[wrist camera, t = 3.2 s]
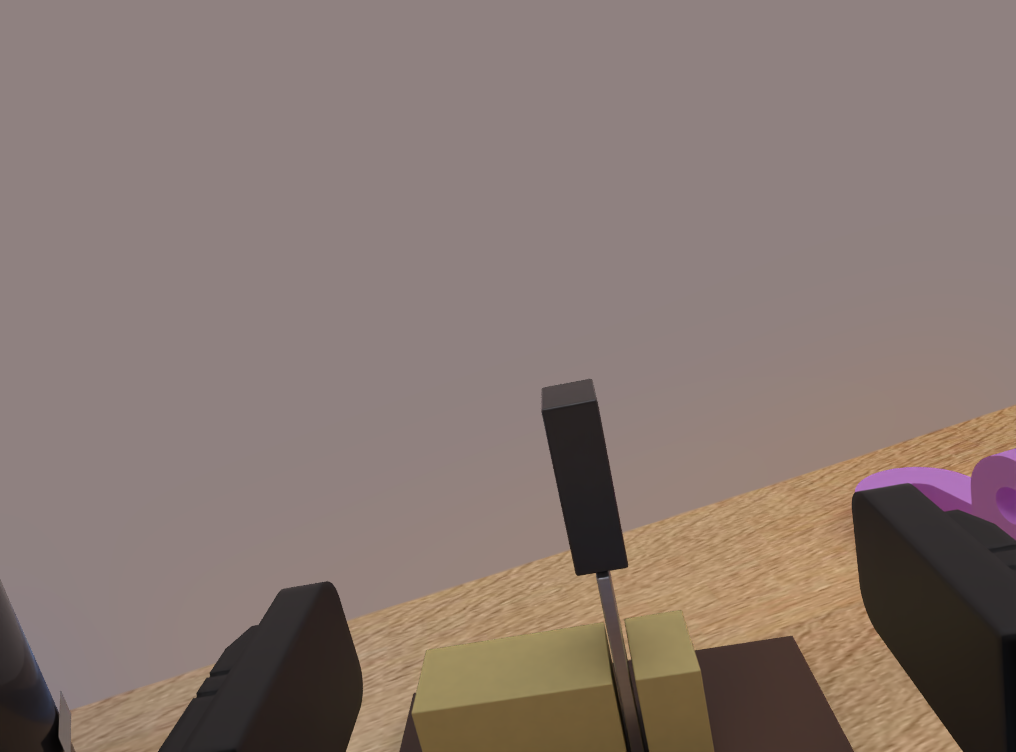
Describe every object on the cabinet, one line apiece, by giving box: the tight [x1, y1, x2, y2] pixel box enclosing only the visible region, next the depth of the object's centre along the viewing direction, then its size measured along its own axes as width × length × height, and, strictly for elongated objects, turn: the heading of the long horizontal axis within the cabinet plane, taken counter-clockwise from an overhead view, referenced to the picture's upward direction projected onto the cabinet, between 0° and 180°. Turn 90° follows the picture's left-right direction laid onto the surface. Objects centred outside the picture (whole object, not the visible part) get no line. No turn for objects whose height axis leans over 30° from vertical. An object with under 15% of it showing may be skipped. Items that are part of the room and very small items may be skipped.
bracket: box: [855, 448, 1016, 540], centre depth 32 cm, size 13×6×7 cm, turn 11°
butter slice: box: [624, 610, 714, 752], centre depth 25 cm, size 2×3×4 cm, turn 177°
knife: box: [542, 379, 645, 752], centre depth 24 cm, size 2×3×12 cm, turn 177°
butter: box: [411, 622, 628, 752], centre depth 25 cm, size 6×3×4 cm, turn 87°
